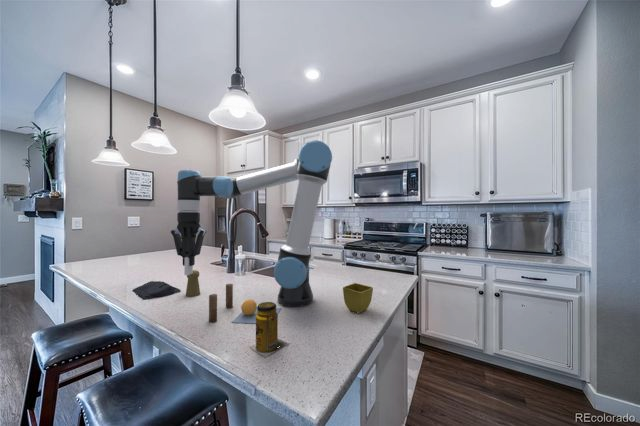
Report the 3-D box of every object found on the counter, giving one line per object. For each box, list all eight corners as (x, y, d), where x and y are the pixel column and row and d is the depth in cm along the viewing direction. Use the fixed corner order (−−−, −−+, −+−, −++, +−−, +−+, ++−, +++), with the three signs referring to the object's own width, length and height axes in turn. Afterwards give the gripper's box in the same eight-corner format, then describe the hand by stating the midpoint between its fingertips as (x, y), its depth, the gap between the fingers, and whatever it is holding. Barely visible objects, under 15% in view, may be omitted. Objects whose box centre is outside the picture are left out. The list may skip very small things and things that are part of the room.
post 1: (218, 319, 86) (218, 294, 86) (214, 322, 84) (214, 296, 84) (211, 319, 87) (211, 293, 87) (207, 322, 84) (207, 296, 84)
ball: (243, 299, 94) (247, 313, 94) (236, 304, 88) (241, 319, 88) (256, 295, 93) (260, 309, 93) (251, 300, 88) (255, 315, 88)
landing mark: (281, 308, 97) (281, 307, 97) (271, 324, 83) (271, 323, 83) (246, 307, 98) (246, 306, 98) (231, 322, 84) (231, 322, 84)
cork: (194, 297, 109) (194, 272, 109) (182, 296, 110) (182, 271, 110) (203, 293, 115) (203, 269, 115) (191, 292, 116) (192, 268, 116)
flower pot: (373, 310, 96) (373, 287, 96) (361, 317, 89) (361, 292, 89) (354, 304, 102) (355, 282, 102) (341, 310, 95) (342, 287, 95)
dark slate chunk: (165, 284, 129) (165, 275, 129) (182, 293, 116) (182, 283, 116) (129, 291, 118) (129, 282, 118) (144, 302, 104) (144, 291, 104)
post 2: (233, 306, 99) (233, 283, 99) (230, 308, 96) (231, 285, 96) (227, 305, 99) (227, 283, 99) (224, 308, 97) (224, 285, 97)
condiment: (249, 347, 69) (249, 305, 69) (273, 336, 75) (273, 297, 75) (265, 357, 64) (265, 311, 64) (289, 344, 71) (289, 302, 71)
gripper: (210, 211, 96) (210, 272, 96) (178, 211, 97) (178, 271, 97) (199, 211, 88) (199, 277, 88) (165, 211, 89) (165, 276, 89)
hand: (188, 274), depth 93 cm, fingers closed
